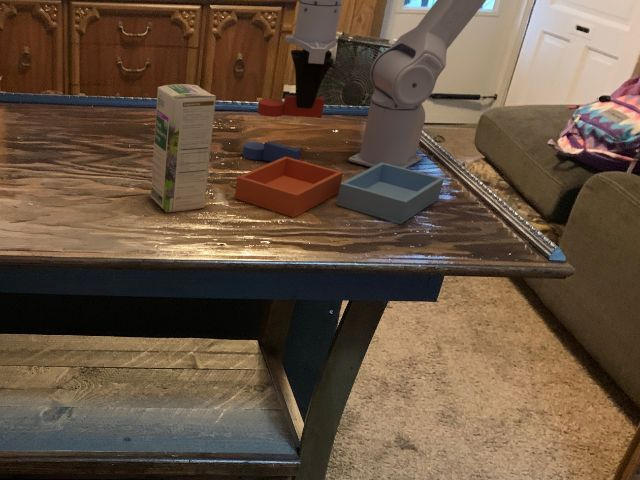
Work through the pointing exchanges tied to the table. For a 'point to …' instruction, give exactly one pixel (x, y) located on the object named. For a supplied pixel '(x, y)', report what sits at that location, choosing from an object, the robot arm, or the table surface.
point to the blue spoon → (269, 151)
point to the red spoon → (290, 107)
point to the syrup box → (182, 146)
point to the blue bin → (389, 192)
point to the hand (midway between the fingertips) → (303, 105)
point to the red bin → (288, 186)
